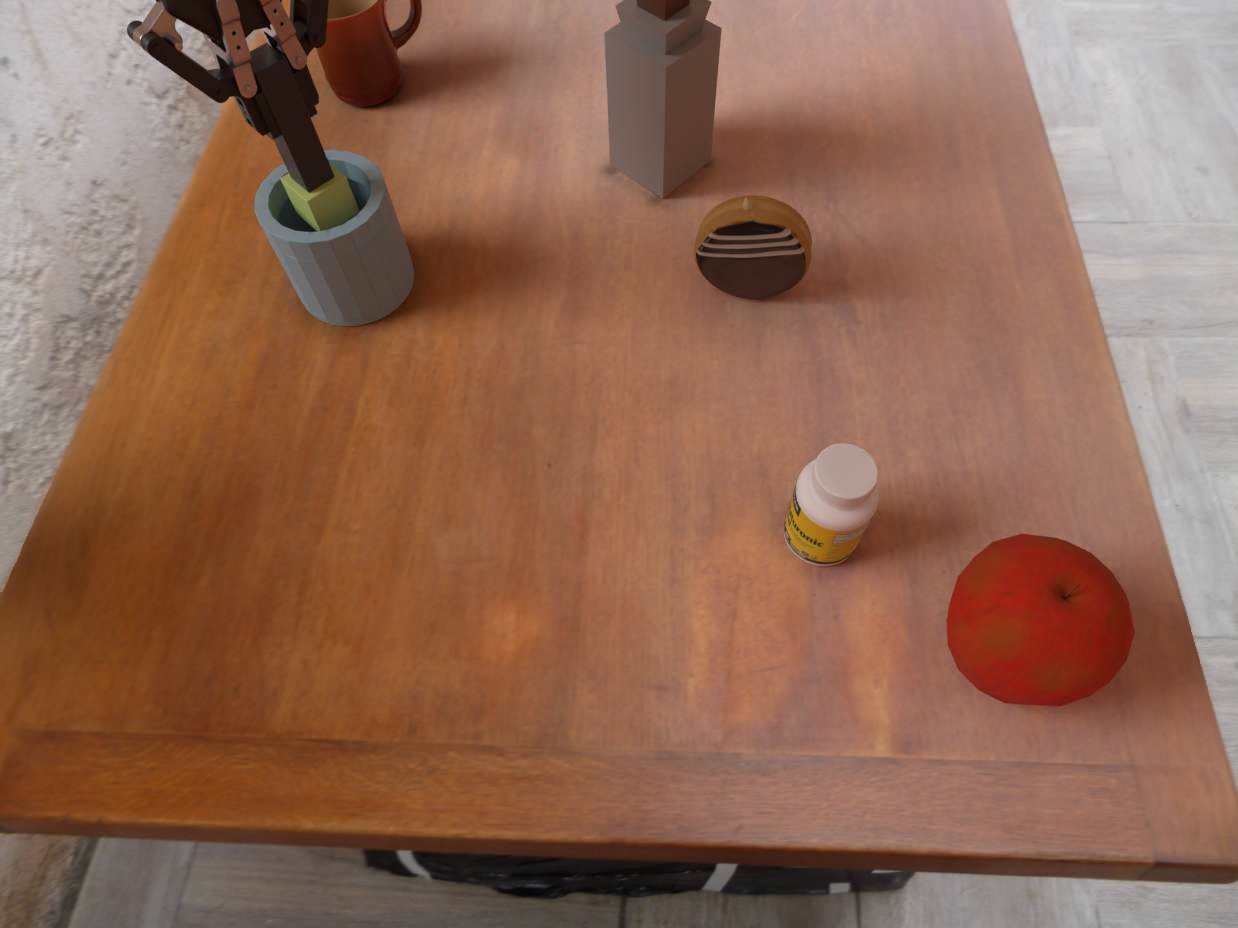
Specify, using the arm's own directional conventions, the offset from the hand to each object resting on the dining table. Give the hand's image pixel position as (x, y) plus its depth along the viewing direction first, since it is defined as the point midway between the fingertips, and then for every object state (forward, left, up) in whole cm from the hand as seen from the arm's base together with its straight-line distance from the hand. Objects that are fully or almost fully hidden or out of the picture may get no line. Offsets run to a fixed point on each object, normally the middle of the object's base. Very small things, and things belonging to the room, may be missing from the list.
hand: (287, 121), depth 60 cm
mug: (+18, +20, -17) cm, 32 cm away
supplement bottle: (+9, -44, -17) cm, 48 cm away
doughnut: (+23, -25, -17) cm, 38 cm away
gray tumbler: (0, 0, -17) cm, 17 cm away
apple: (+11, -58, -17) cm, 61 cm away
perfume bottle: (+29, -9, -17) cm, 35 cm away
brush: (0, 0, -9) cm, 9 cm away
